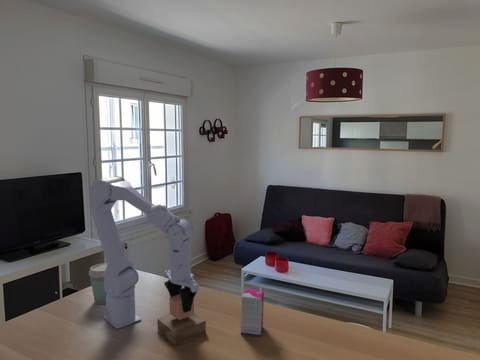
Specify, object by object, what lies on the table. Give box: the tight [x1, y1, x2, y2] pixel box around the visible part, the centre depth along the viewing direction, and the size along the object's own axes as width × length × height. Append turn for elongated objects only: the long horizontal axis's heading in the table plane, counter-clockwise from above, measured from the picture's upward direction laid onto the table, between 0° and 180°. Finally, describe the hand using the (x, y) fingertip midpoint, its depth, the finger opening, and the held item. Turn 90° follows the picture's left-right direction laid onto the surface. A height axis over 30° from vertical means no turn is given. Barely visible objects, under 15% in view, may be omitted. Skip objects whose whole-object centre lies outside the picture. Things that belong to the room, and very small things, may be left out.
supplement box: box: [240, 288, 265, 337], centre depth 110 cm, size 6×6×12 cm
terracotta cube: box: [168, 294, 195, 320], centre depth 110 cm, size 5×5×5 cm
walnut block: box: [156, 313, 207, 346], centre depth 110 cm, size 10×10×4 cm
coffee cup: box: [88, 262, 107, 306], centre depth 129 cm, size 8×9×12 cm
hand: (181, 307), depth 110 cm, fingers closed on terracotta cube, 5 cm apart
